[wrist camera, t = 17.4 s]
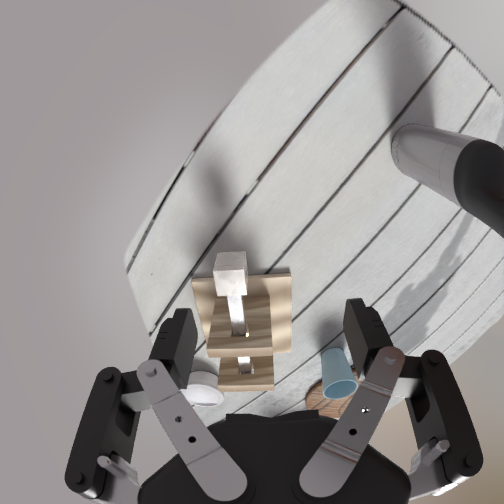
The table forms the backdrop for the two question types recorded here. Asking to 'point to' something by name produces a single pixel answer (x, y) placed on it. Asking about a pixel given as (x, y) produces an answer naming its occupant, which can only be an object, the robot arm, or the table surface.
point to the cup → (337, 375)
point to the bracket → (258, 326)
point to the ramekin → (203, 389)
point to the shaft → (234, 294)
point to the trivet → (328, 400)
